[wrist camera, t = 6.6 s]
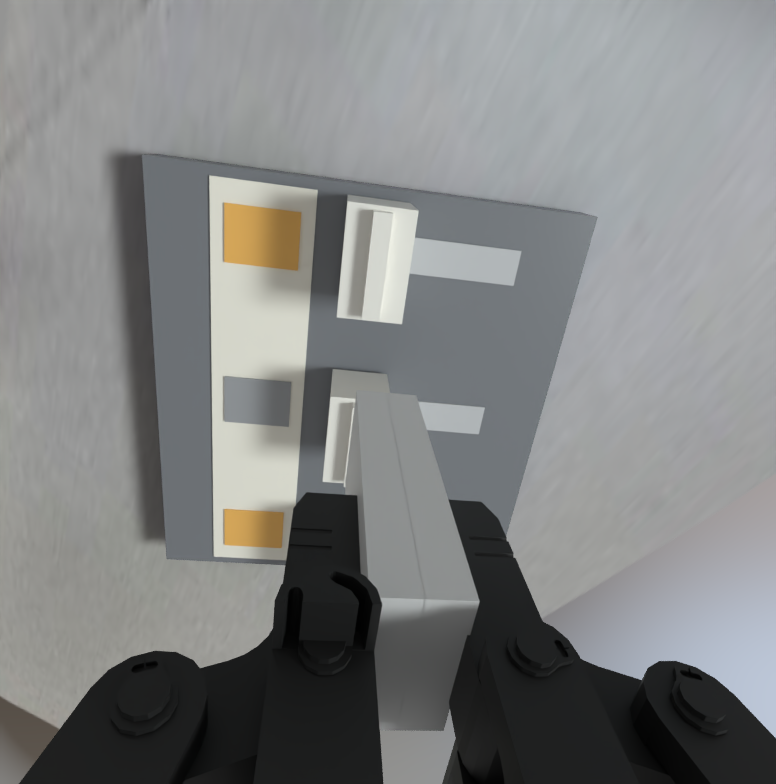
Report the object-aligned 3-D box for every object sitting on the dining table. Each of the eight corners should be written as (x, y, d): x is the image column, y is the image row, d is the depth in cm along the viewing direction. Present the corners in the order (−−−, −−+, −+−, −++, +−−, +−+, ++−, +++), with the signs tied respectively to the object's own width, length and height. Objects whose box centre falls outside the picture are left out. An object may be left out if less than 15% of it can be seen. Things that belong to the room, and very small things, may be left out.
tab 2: (386, 374, 29) (392, 407, 25) (376, 451, 31) (379, 492, 27) (332, 368, 28) (330, 402, 25) (325, 447, 30) (321, 488, 27)
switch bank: (581, 212, 28) (599, 217, 26) (487, 555, 38) (495, 577, 36) (156, 154, 25) (140, 154, 23) (176, 538, 35) (165, 561, 33)
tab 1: (410, 203, 25) (420, 212, 21) (395, 303, 27) (403, 328, 23) (347, 194, 24) (347, 202, 21) (338, 297, 27) (336, 321, 23)
